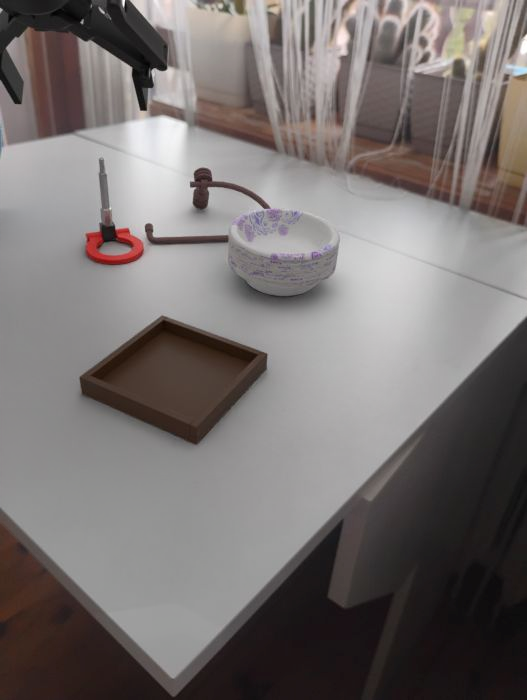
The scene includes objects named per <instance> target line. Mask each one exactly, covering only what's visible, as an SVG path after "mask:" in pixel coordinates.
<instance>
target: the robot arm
mask: <svg viewBox="0 0 527 700" xmlns="http://www.w3.org/2000/svg"><path fill="white" fill-rule="evenodd" d="M0 9H1V11H0V81H1V83H2V85H3V87H4V89H5V90H6V92H7V94H8V96H9V97H10V99H11V100H12V102H13V104H14V105H22V104H23V95H24V85H25V81H24V79H23V78H22V75H21V74H20V72H19V70H18V68H17V66H16V64H15V63H14V60H13V59H12V57H11V54H10V53H9V51H8V49H7V47H8V46H9V45H10V44H11V43H12V42H13V41H14V39H15V38H17V39H19V38H20V37H21V36H22V35H23V33H25V31H26V30H27V29H28V28H30V29H33V30H34V32H42V33H44V32H56V33H60V34H70V33H71V34H73V35H74V36H76V37H77V38H79V39H80V40H82V41H83V42H85V43H86V42H87V43H88V42H89V41H91V42H92V43H94V44H95V45H97V46H99V47H100V48H101V49H103V50H104V51H106V52H107V53H109V54H110V55H112V56H113V57H115V58H117V60H120V61H121V62H123V63H124V64H125V65H128V66H129V67H131V78H132V82H133V86H134V92H135V95H136V99H137V103H138V108H139V111H141V112H147V111H148V103H149V102H148V101H149V89H154V86H155V75H156V74H155V69H156V70H157V71H158V72H165V71H168V68H169V67H168V66H169V51H170V50H169V47H170V45H169V44H168V42H167V41H166V40H165V39H164V37H162V35H161V34H160V33H159V32H158V31H157V30H156V29H155V28H154V26H153V25H151V23H150V21H148V19H147V18H146V17H145V16H144V15H143V14H142V12H140V10H139V9H138V8H137V7H136V5H134V4H133V2H132V1H131V0H0ZM2 127H3V125H2V117H0V158H1V157H2V151H3V128H2Z"/></svg>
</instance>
